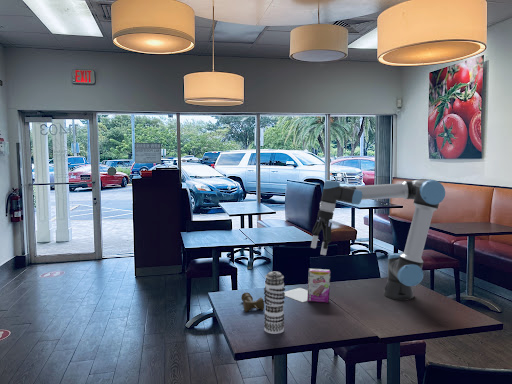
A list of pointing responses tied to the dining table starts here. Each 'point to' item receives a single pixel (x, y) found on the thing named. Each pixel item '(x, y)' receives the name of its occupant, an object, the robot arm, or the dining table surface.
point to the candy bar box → (318, 285)
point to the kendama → (251, 302)
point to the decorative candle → (274, 303)
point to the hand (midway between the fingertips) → (317, 251)
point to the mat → (297, 294)
